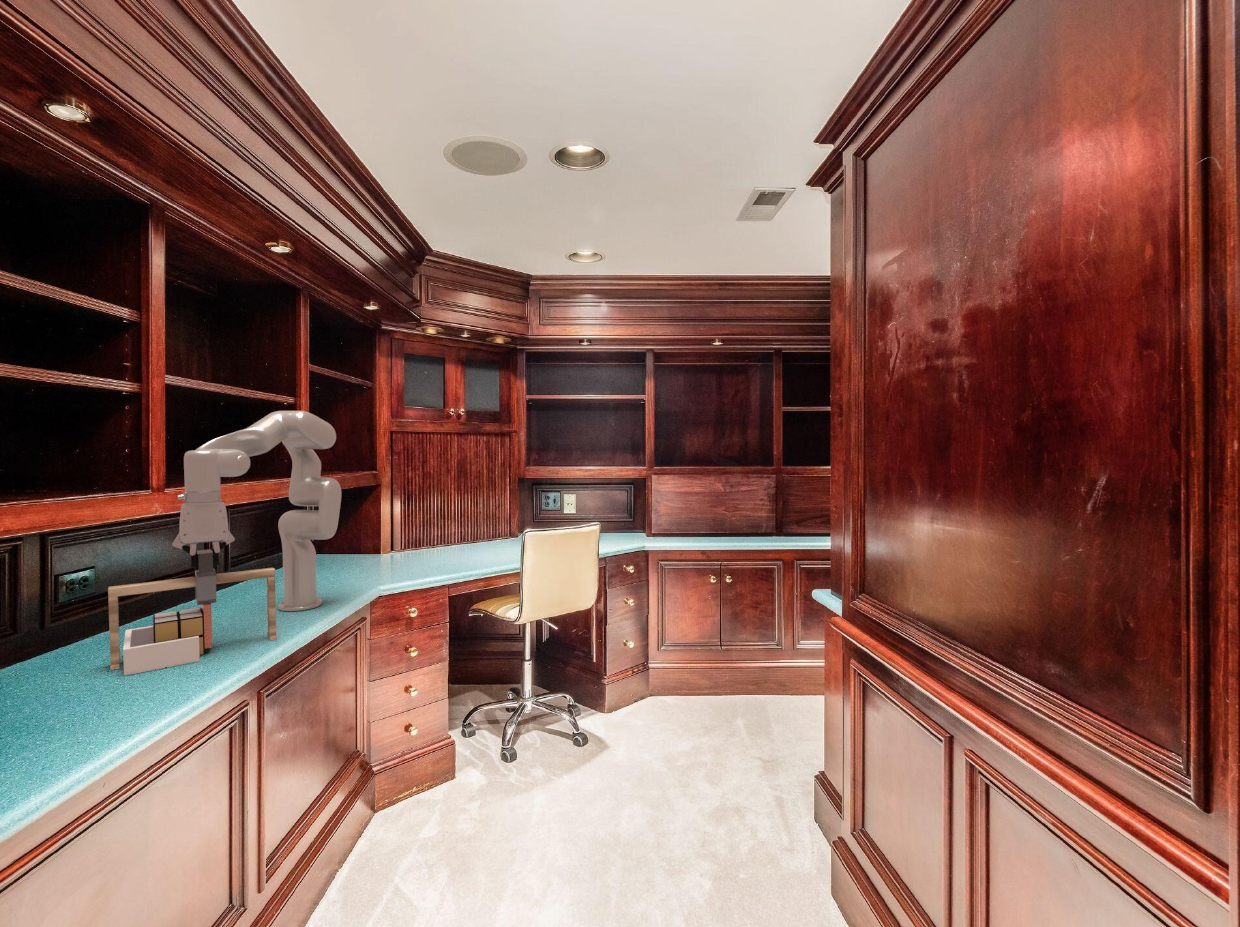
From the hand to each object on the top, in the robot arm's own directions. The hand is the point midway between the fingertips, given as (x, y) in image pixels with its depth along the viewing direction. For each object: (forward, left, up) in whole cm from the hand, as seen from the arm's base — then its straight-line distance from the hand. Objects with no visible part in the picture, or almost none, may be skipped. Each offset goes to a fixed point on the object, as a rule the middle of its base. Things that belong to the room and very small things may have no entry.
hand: (205, 568), depth 151 cm
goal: (0, -9, -21) cm, 23 cm away
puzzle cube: (0, -6, -21) cm, 22 cm away
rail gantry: (0, -2, -21) cm, 21 cm away
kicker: (0, 0, -20) cm, 20 cm away
